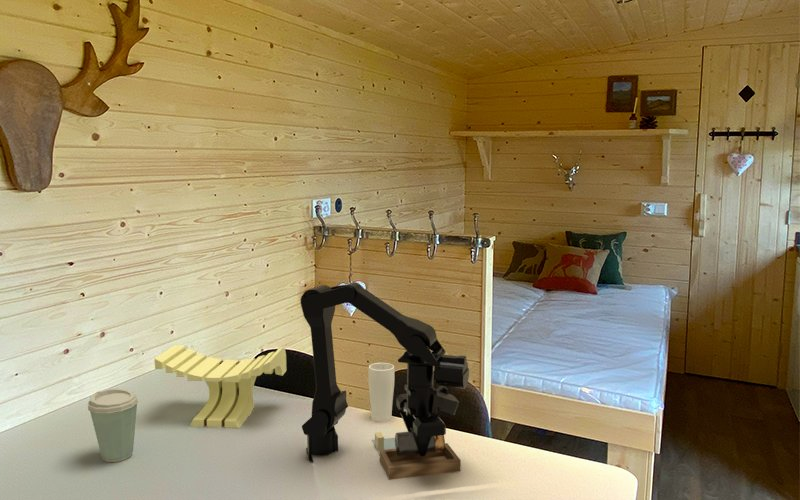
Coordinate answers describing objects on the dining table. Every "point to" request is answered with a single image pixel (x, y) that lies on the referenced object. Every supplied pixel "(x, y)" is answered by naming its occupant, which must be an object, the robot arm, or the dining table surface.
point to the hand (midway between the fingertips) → (419, 450)
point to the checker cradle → (383, 442)
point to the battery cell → (408, 446)
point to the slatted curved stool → (222, 382)
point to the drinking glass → (381, 391)
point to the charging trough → (419, 463)
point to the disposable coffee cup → (114, 422)
